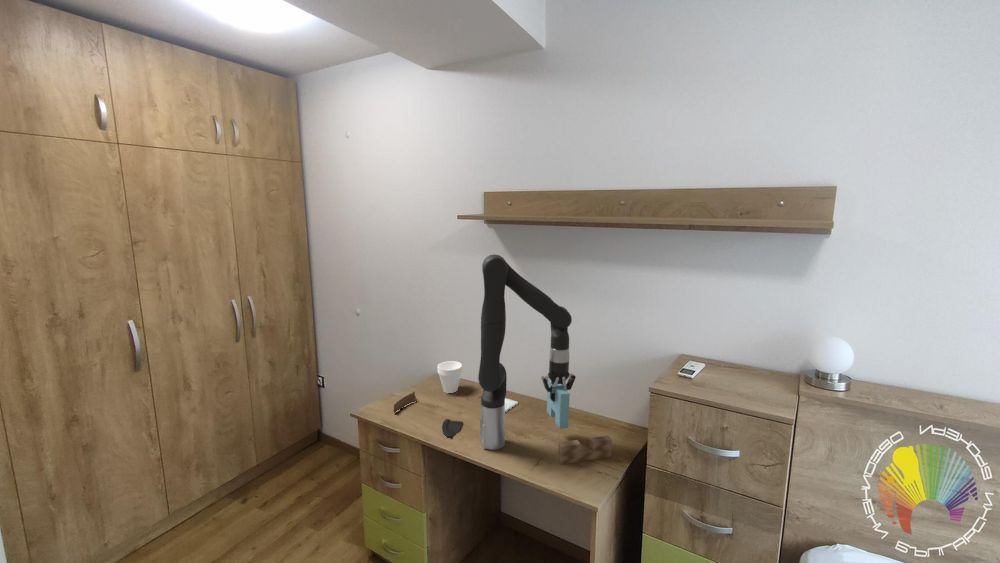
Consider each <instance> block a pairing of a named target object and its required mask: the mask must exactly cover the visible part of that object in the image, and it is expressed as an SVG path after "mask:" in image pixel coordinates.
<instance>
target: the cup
mask: <svg viewBox="0 0 1000 563" xmlns="http://www.w3.org/2000/svg"><path fill="white" fill-rule="evenodd" d="M462 372H463V365H462V363H461V362H459V361H454V360H451V361H450V360H448V361H443V362H440V363H439V364H437V373H438V376H439V380H440V384H441V387H442V391H443V393H444V392H446V393H453V392H456V391H457V392H458V389H459V385H460V380H461V375H462ZM457 392H456V393H457ZM446 393H445V394H446Z"/></svg>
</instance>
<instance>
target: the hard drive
mask: <svg viewBox="0 0 1000 563" xmlns="http://www.w3.org/2000/svg"><path fill="white" fill-rule="evenodd" d="M518 404H519V401H516V400H513V399H511V398H510V399H509V398H506V397H505V412H506V413H507V412H509V411H510V410H511V409H513V408H514V407H516V406H517V405H518ZM515 405H516V406H515ZM512 407H513V408H512ZM509 409H510V410H509ZM508 410H509V411H508Z"/></svg>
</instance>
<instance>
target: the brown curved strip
mask: <svg viewBox="0 0 1000 563" xmlns="http://www.w3.org/2000/svg"><path fill="white" fill-rule="evenodd" d="M417 400H418V398H417V397H416V394H415V391H413V392H411V393H409V394H408V395H405V396H404V397H402V398H401V399H399V400H398V401H396V403H394V404H393V409H392V411H393V414H394V413H395V412H396V411H397V410H399V409H401V408H402V407H404V406H405V405H407V404H409V403H411V402H415V401H417Z"/></svg>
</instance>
